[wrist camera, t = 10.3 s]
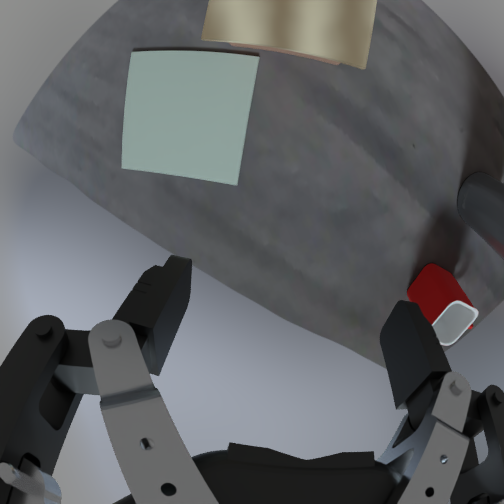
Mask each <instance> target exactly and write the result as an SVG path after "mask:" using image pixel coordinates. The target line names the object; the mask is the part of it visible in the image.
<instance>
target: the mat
mask: <svg viewBox="0 0 504 504" xmlns="http://www.w3.org/2000/svg"><path fill="white" fill-rule="evenodd" d="M259 59H260V57H256V56H249V55H241V54H231V53H220V52H205V51H140V52H132V54H131V60H130V67H129V74H128V82H127V91H126V100H125V111H124V124H123V142H122V168H124V169H132V170H140V171H148V172H156V173H163V174H170V175H177V176H184V177H190V178H196V179H203V180H209V181H215V182H220V183H226V184H232V185H237V184H238V179H239V172H240V166H241V160H242V154H243V148H244V142H245V136H246V130H247V125H248V119H249V113H250V107H251V102H252V96H253V91H254V85H255V80H256V74H257V69H258V64H259Z"/></svg>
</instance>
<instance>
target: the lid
mask: <svg viewBox="0 0 504 504" xmlns="http://www.w3.org/2000/svg"><path fill="white" fill-rule="evenodd" d="M376 3H377V0H209V4H208V8H207V13H206V17H205V22H204V27H203V32H202V37H201V39H202V40H204V41H219V42H232V43H242V44H251V45H258V46H265V47H272V48H278V49H284V50H289V51H294V52H299V53H304V54H308V55H313V56H317V57H321V58H325V59H329V60H333V61H336V62H340V63H343V64H347V65H350V66H353V67H357V68H360V69H365V68H366V63H367V58H368V52H369V47H370V41H371V35H372V29H373V23H374V17H375V10H376Z"/></svg>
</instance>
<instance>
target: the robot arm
mask: <svg viewBox="0 0 504 504" xmlns="http://www.w3.org/2000/svg"><path fill="white" fill-rule="evenodd" d="M457 203H458V211H459V214H460V216H461V218H462V219H463V221H465V222H466V223H467V224H468V225H469V226H470V227H471V228H472V229H473V230H474V231H475V232H476V233H477V234H478V235H479V236H480V237H482V238H483V239H484V240H485V241H486V242H487V243H488V244H489V245H490V246H491V247H492V248H493V249H494V250H495V252H496V253H497V254H498V255H499V256H500V257H501V258H502V259H503V260H504V183H502V182H500V181H499V180H497V179H495V178H493V177H491V176H490V175H488V174H486V173H483V172H477V173H474V174H472V175H471V176H469V177H468V178H467V179H466V180H465V182H464V183H463V185H462V187H461V189H460V191H459V195H458V202H457ZM191 273H192V260H191V259H189V258H184V257H180V256H175V255H171V256H170V257H169V258H168V260H167V261H166V263H165V265H164V266H163V267H161V266H157V265H155V266H153V267H151V268H150V269H148V270H147V271H145V272H144V273H143V275H142V276H141V277H140V279H139V280H138V283H136V284H135V286H134V287H133V290H132V291H131V292H130V293H129V295H128V296H127V298H126V299H125V301H124V302H123V304H122V305H121V307H120V308H119V310H118V311H117V313H116V314H115V316H114V317H113V319H112V320H106V321H102V322H100V323H99V324H97V325H95V326H94V327H93V328H92V330H91V331H82V330H68V329H65V327H64V325H63V322H62V321H61V320H60V319H59V318H58V317H55V316H52V315H44V316H40V317H38V318H36V319H34V320H33V321H31V322H30V323H29V325H28V326H27V328H26V329H25V330H24V332H23V333H22V335H21V336H20V338H19V339H18V340H17V342H16V343H15V345H14V346H13V348H12V349H11V351H10V352H9V354H8V355H7V357H6V359H5V360H4V362H3V363H2V365H1V366H0V504H61V490H60V487H59V485H58V483H57V482H56V481H55V479H54V478H53V477H52V474H53V471H54V468H55V465H56V462H57V459H58V457H59V453H60V450H61V448H62V446H63V443H64V440H65V438H66V435H67V433H68V430H69V428H70V425H71V423H72V420H73V418H74V415H75V413H76V411H77V408H78V406H79V404H80V401H81V399H82V396H83V395H84V394H92V395H100V397H101V401H100V408H101V411H102V415H103V419H104V422H105V425H106V428H107V432H108V435H109V438H110V441H111V443H112V447H113V449H114V452H115V455H116V458H117V460H118V463H119V465H120V468H121V470H122V473H123V475H124V478H125V480H126V482H127V485H128V487H129V489H130V491H131V494H130V495H128V496H126V497H124V498H123V499H121V500H119V501H117V502H115V503H113V504H447V503H448V501H449V498H450V501H451V504H504V393H503V391H502V390H501V389H500V388H499V387H497V386H495V385H490V386H488V387H487V388H486V389H485V390H484V391H483V392H482V393H480V392H476V391H473V390H471V387H470V385H469V383H468V381H467V380H466V378H465V377H463V376H462V375H461V374H459V373H457V372H452V370H451V368H450V365H449V363H448V361H447V358H446V356H445V353H444V351H443V348H442V346H441V345H440V341H439V339H438V337H436V336H437V335H436V333H435V330H434V328H433V326H432V325H431V323H430V322H429V321H428V320H427V319H426V318H425V316H424V315H423V313H422V311H421V309H420V307H419V305H418V304H417V303H415V302H409V301H403V300H400V301H398V302H397V304H396V305H395V307H394V309H393V310H392V312H391V314H390V316H389V317H388V319H387V321H386V323H385V324H384V326H383V328H382V330H381V333H380V344H381V348H382V351H383V355H384V359H385V363H386V367H387V371H388V375H389V379H390V384H391V388H392V392H393V397H394V402H395V406H396V409H408V413H407V414H406V415H405V416H404V418H403V419H402V421H401V423H400V425H399V427H398V429H397V431H396V433H395V435H394V437H393V438H392V440H391V442H390V443H389V445H388V447H387V449H386V451H385V452H384V453H383V454H382V456H381V457H380V458H378V460H376V461H375V460H374V452H373V451H371V452H342V453H338V454H334V455H330V456H325V457H321V458H316V459H311V460H304V459H300V458H297V457H293V456H290V455H287V454H284V453H281V452H278V451H275V450H272V449H269V448H263V447H255V446H248V445H242V444H236V443H229V446H228V449H227V450H220V451H213V452H207V453H203V454H199V455H196V456H194V457H191V456H190V454H189V452H188V450H187V449H186V447H185V445H184V443H183V441H182V439H181V437H180V435H179V433H178V431H177V429H176V427H175V425H174V423H173V421H172V419H171V416H170V414H169V412H168V410H167V408H166V405H165V403H164V401H163V399H162V397H161V395H160V392H159V391H158V389H157V388H155V386H154V384H153V382H152V380H151V377H150V373H151V374H154V375H157V376H159V374H160V372H161V369H162V367H163V365H164V362H165V359H166V357H167V355H168V352H169V350H170V347H171V345H172V342H173V340H174V338H175V335H176V333H177V331H178V328H179V326H180V323H181V321H182V319H183V316H184V314H185V312H186V309H187V306H188V303H189V299H190V292H191V291H190V290H191ZM483 430H484V432H485V436H486V441H487V445H488V456H487V458H486V460H485V461H484V462H482V463H481V464H478V458H477V452H476V447H475V442H474V437H475V436H476V435H478V434H479V433H480V432H482V431H483Z"/></svg>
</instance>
